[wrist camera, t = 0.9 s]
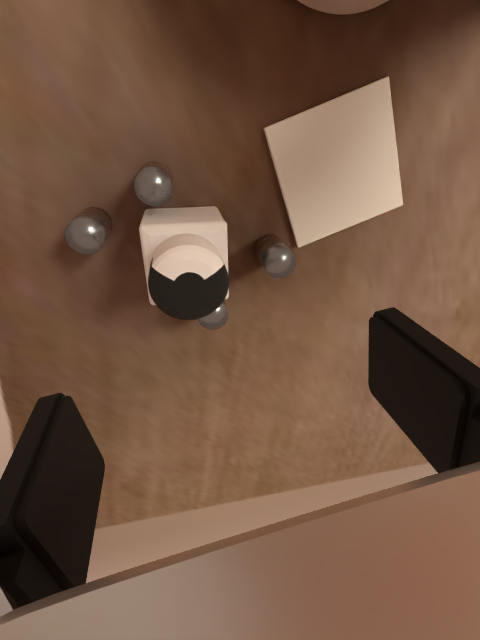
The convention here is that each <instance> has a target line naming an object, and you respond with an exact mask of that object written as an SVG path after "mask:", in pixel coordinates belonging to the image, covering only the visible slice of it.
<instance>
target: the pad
mask: <svg viewBox="0 0 480 640" xmlns="http://www.w3.org/2000/svg"><path fill="white" fill-rule="evenodd" d="M263 129H264V133H265V136H266V140H267V143H268V147H269V150H270V154H271V157H272V161H273V164H274V168H275V171H276V175H277V178H278V182H279V185H280V189H281V192H282V196H283V200H284V203H285V207H286V210H287V214H288V217H289V221H290V224H291V228H292V231H293V235H294V238H295V242H296V245H297V247H298V248H299V247H301V246H304V245H306V244H309V243H311V242H314V241H316V240H319V239H321V238H324V237H326V236H328V235H331V234H333V233H336V232H338V231H341V230H343V229H346V228H348V227H350V226H353V225H355V224H358V223H360V222H363V221H365V220H368V219H370V218H372V217H375V216H377V215H380V214H382V213H385V212H387V211H390V210H392V209H394V208H397V207H399V206H402V205H403V199H402V190H401V181H400V172H399V163H398V154H397V145H396V136H395V127H394V118H393V109H392V100H391V91H390V82H389V76H388V77H385V78H382V79H380V80H377V81H375V82H373V83H370V84H368V85H366V86H363V87H361V88H358V89H356V90H354V91H351V92H349V93H346V94H344V95H342V96H339V97H337V98H334V99H332V100H330V101H327V102H325V103H322V104H320V105H318V106H315V107H313V108H310V109H308V110H306V111H303V112H301V113H298V114H296V115H294V116H291V117H289V118H287V119H284V120H282V121H279V122H277V123H275V124H272V125H270V126H267V127H265V128H263Z"/></svg>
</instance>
